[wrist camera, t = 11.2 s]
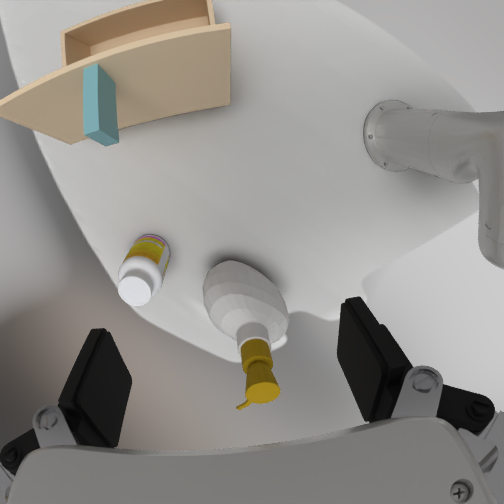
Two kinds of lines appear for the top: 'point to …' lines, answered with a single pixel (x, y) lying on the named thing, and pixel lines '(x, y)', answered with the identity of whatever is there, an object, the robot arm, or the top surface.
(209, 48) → the lid
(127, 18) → the carton
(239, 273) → the soap bottle
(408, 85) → the top surface
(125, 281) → the supplement bottle
